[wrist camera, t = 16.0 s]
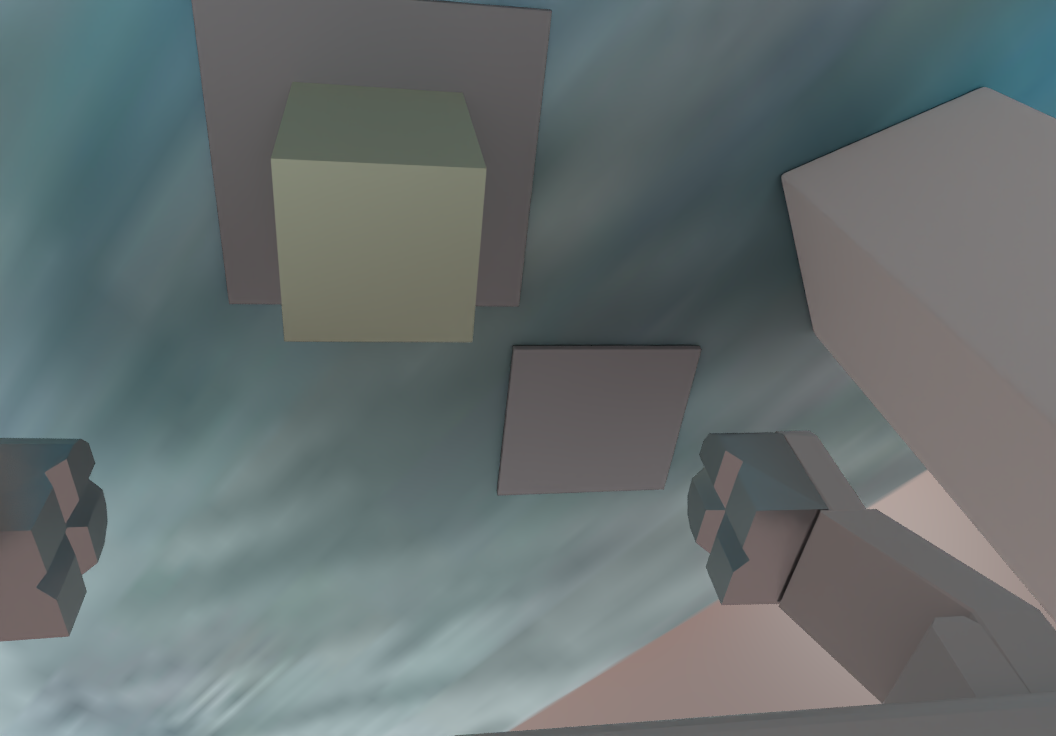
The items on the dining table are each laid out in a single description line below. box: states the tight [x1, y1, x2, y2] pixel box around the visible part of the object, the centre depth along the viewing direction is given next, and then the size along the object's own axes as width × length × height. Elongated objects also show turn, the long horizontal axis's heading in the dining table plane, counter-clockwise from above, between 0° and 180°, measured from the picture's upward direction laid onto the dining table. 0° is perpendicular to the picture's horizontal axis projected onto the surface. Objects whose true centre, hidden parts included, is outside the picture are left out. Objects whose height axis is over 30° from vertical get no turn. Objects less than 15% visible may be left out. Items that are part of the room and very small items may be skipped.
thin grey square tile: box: [192, 0, 552, 306], centre depth 20 cm, size 8×8×1 cm
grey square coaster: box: [497, 346, 702, 495], centre depth 26 cm, size 6×6×1 cm
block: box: [271, 82, 487, 342], centre depth 18 cm, size 4×4×5 cm
